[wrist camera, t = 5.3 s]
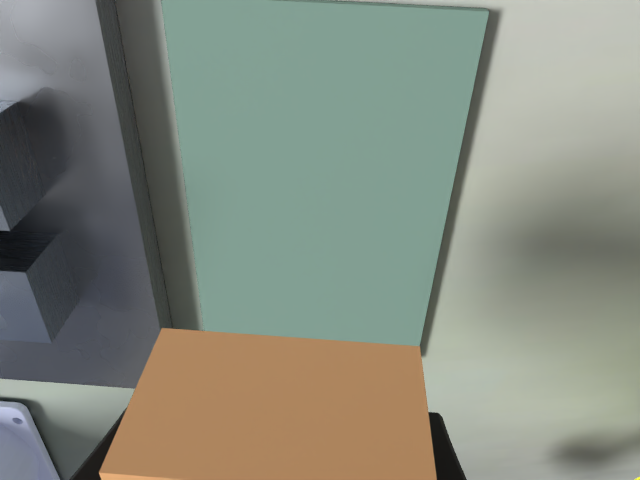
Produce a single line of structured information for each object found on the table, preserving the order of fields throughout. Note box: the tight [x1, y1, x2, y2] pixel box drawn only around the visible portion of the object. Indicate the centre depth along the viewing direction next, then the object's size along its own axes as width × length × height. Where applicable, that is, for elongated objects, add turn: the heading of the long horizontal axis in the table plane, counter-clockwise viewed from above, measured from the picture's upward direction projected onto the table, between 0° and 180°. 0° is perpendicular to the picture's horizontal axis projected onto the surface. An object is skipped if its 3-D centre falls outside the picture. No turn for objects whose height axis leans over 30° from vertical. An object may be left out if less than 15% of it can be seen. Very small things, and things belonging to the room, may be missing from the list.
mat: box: [161, 0, 489, 346], centre depth 18 cm, size 14×9×1 cm, turn 178°
